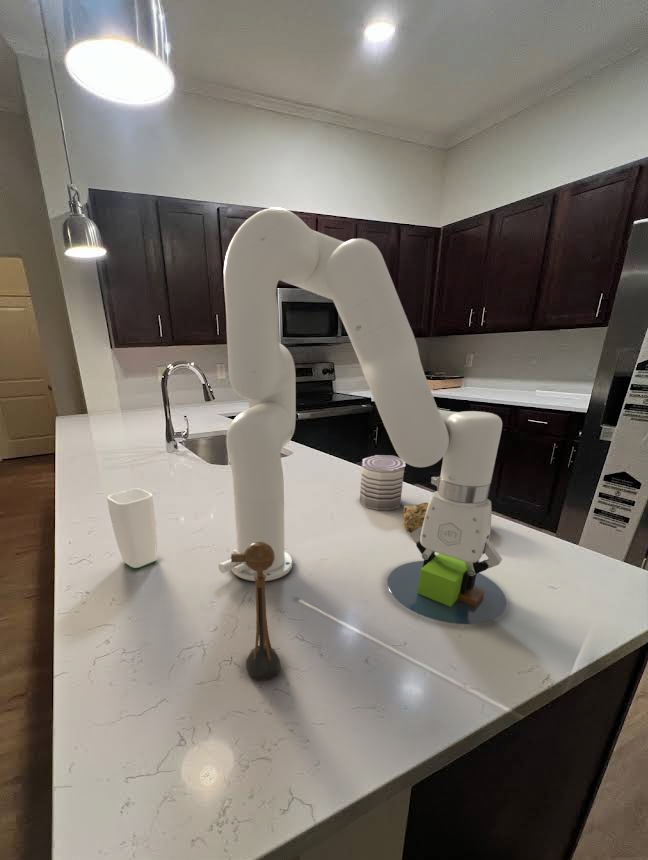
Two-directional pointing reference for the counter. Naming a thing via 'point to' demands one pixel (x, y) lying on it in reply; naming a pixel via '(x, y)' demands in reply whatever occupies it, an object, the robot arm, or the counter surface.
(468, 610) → the plate
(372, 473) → the can
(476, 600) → the brown rectangular block
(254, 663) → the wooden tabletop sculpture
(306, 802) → the counter surface
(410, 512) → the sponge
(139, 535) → the cup
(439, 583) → the small sponge
